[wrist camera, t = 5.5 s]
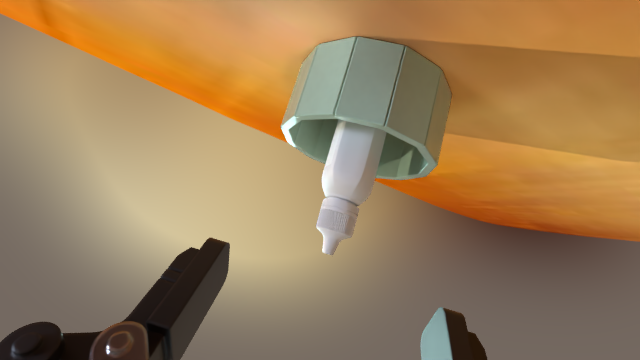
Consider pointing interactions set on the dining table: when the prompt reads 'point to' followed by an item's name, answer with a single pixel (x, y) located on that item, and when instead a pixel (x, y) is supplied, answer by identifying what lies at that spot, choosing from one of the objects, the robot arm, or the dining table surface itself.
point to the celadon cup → (371, 103)
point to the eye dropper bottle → (348, 179)
